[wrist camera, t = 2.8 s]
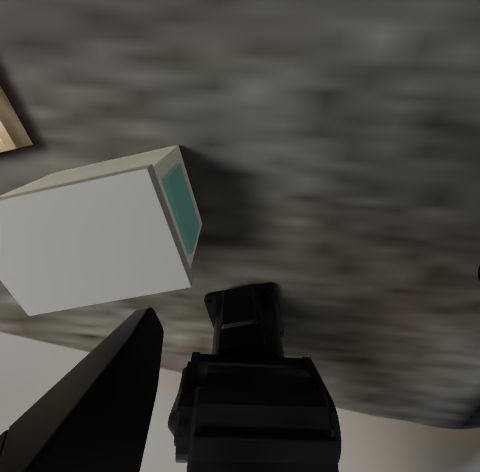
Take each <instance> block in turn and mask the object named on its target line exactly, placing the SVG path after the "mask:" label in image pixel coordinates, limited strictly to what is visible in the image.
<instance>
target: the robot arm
mask: <svg viewBox="0 0 480 472" xmlns="http://www.w3.org/2000/svg"><path fill="white" fill-rule="evenodd" d="M478 278H479V280H480V265H479V269H478ZM269 288H272V289H271V290H269ZM209 299H212V300H209ZM204 302H205V305H206V308H207V310H208V313H209V316H210V319H211V322H212V324H213V327H214V337H213V348H212V354H200V352H193V353H192V357H191V362H189V361H188V365H187V367H185V368H184V369H183V372H182V378H181V383H180V388H179V392H178V394H177V397H176V400H175V402H174V405H173V407H172V410H171V413H170V416H169V421H168V428H169V429H170V431H171V432H172V434H173V435H174V446H176V462H181V463H182V462H183V463H186V462H188V464H187V472H339V471H338V462H339V460H340V455H341V432H340V425H339V420H338V415H337V411H336V408H335V405H334V403H333V400H332V398H331V396H330V394H329V392H328V390H327V388H326V387H325V385H324V383H323V381H322V379H321V377H320V375H319V373H318V371H317V369H316V367H315V366H314V364H313V362H312V360H311V358H310V357H302V358H285V357H284V351H283V346H282V341H281V337H282V336H283V335H284V329H283V323H282V318H281V312H280V307H279V301H278V296H277V290H276V286H275V284H273V283H266V284H260V285H255V286H249V287H243V288H237V289H232V290H226V291H220V292H215V293H209V294H206V295H205V298H204ZM162 344H163V327H162V325H161V323H160V321H159V319H158V317H157V315H156V312H155V311H154V309H153V308H152V307H146V308H141V309H137V310H136V311H135V312H134V313H133V314H131V315H130V316H129V317H128V318H127V319H126V320H125V321H124V322H123V323H122V324H121V325H120V326H118V327H117V328H116V329H115V330H114V331H113V332H112V333H111V334H110V335H109V336H108V337H107V338H105V339H104V340H103V341H102V342H101V343H100V344H99V345H98V346H97V347H96V348H95V349H94V350H92V351H91V352H90V353H89V354H88V355H87V356H86V357H85V358H84V359H83V360H82V361H80V362H79V363H78V364H77V365H76V366H75V367H74V368H73V369H72V370H71V371H70V372H69V373H67V374H66V375H65V376H64V377H63V378H62V379H61V380H60V381H59V382H58V383H57V384H56V385H54V386H53V387H52V388H51V389H50V390H49V391H48V392H47V393H46V394H45V395H44V396H42V397H41V398H40V399H39V400H38V401H37V402H36V403H35V404H34V405H33V406H32V407H31V408H29V409H28V410H27V411H26V412H25V413H24V414H23V415H22V416H21V417H20V418H19V419H18V420H16V421H15V422H14V423H13V424H12V425H11V426H10V428H9V430H6V431H5V432H3V433H2V434H1V435H0V472H139V471H140V467H141V462H142V458H143V453H144V448H145V444H146V439H147V434H148V430H149V425H150V420H151V416H152V411H153V407H154V402H155V398H156V392H157V387H158V380H159V371H160V362H161V353H162Z"/></svg>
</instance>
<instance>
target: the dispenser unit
mask: <svg viewBox="0 0 480 472" xmlns="http://www.w3.org/2000/svg"><path fill="white" fill-rule="evenodd" d="M201 226H202V221H201V217H200V214H199V211H198V208H197V204H196V201H195V198H194V194H193V191H192V188H191V185H190V181H189V178H188V175H187V171H186V168H185V165H184V161H183V158H182V155H181V152H180V148H179V145H175V146H171V147H166V148H162V149H157V150H153V151H148V152H144V153H139V154H135V155H130V156H126V157H121V158H117V159H112V160H108V161H103V162H99V163H94V164H90V165H86V166H81V167H77V168H72V169H68V170H63V171H59V172H55V173H53V174H50V175H48V176H45V177H43V178H41V179H38V180H36V181H34V182H31V183H29V184H26V185H24V186H22V187H19V188H17V189H15V190H12V191H10V192H7V193H5V194H3V195H0V280H1V282H2V283H3V284H4V285H5V287H6V288H7V289H8V290H9V292H10V293H11V294H12V295H13V297H14V298H15V299H16V300H17V302H18V303H19V304H20V305H21V307H22V308H23V309H24V310H25V312H26V313H27V314H28V316H31V315H37V314H42V313H48V312H54V311H59V310H65V309H71V308H76V307H82V306H87V305H93V304H99V303H104V302H110V301H116V300H121V299H127V298H133V297H138V296H144V295H150V294H155V293H161V292H167V291H172V290H178V289H183V288H189V287H191V286H192V281H193V276H192V273H191V270H190V269H191V265H192V261H193V257H194V253H195V250H196V246H197V242H198V238H199V234H200V230H201Z"/></svg>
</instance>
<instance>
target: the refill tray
mask: <svg viewBox="0 0 480 472" xmlns="http://www.w3.org/2000/svg"><path fill="white" fill-rule="evenodd" d="M29 145H33V144H32V142H31V140H30V138H29V136H28V135H27V133H26V131H25V129H24V127H23V125H22V124H21V122H20V120H19V118H18V116H17V115H16V113H15V111H14V109H13V107H12V106H11V104H10V102H9V100H8V98H7V97H6V95H5V93H4V91H3V89H2V88H1V86H0V152H4V151H8V150H12V149H17V148H21V147H25V146H29Z"/></svg>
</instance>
